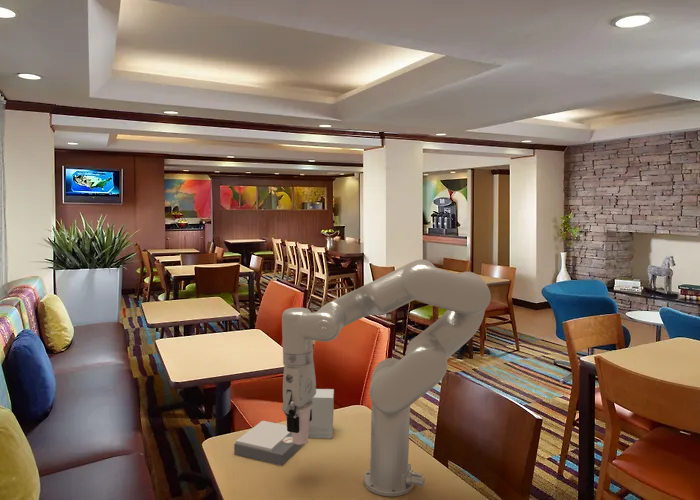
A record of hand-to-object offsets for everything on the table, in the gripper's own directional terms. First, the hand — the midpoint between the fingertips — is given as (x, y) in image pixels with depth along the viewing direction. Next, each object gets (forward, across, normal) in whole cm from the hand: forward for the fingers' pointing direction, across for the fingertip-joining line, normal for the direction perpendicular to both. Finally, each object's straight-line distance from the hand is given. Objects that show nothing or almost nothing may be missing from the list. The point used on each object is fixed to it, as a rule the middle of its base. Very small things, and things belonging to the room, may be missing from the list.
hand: (299, 425), depth 129 cm
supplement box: (+14, +24, +5) cm, 28 cm away
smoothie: (+4, 0, 0) cm, 4 cm away
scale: (+13, +10, +14) cm, 22 cm away
